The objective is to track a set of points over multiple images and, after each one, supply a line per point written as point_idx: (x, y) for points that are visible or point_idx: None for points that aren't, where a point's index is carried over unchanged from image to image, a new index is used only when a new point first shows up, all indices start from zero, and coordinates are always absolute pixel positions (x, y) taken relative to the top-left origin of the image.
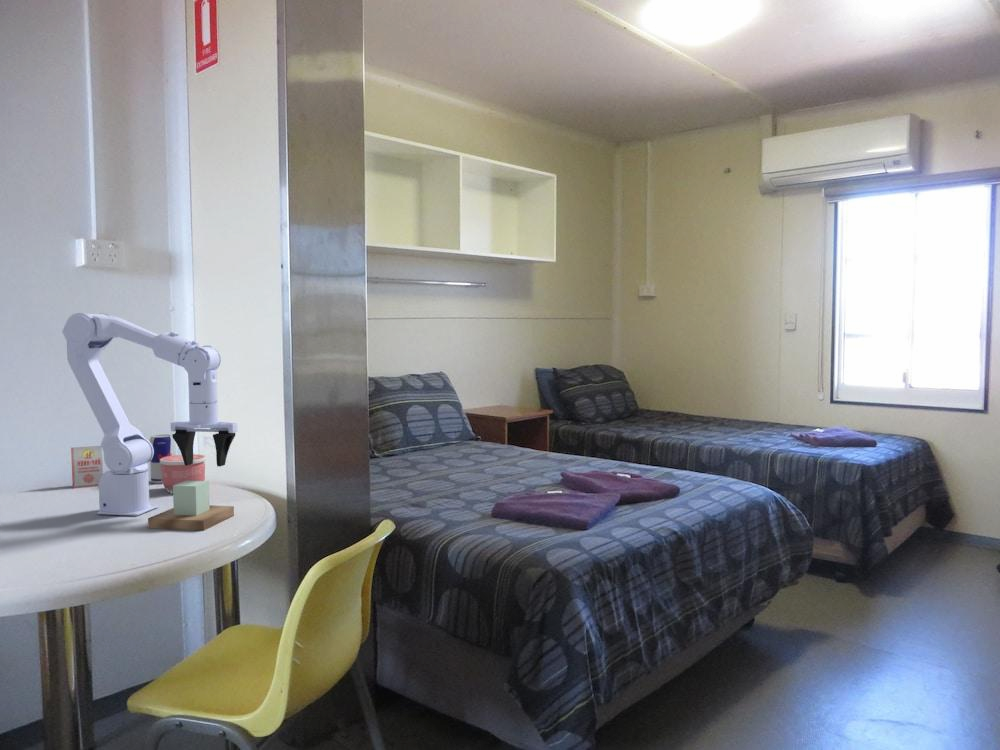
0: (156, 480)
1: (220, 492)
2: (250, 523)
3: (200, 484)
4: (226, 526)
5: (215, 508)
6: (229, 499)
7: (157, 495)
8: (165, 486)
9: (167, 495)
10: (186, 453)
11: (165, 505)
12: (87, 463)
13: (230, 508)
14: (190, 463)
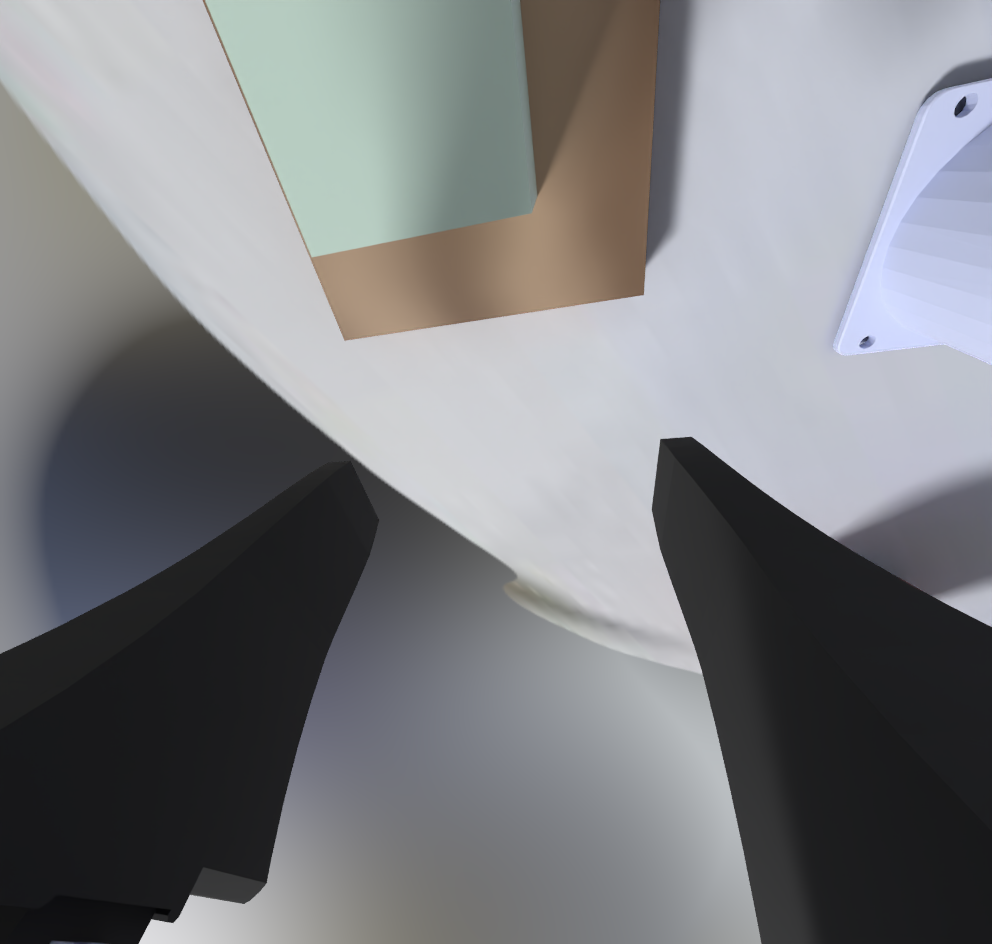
0: None
1: (658, 586)
2: (167, 214)
3: (228, 55)
4: (196, 93)
5: (386, 264)
6: (568, 525)
7: (913, 526)
8: (903, 580)
9: (862, 532)
10: (709, 531)
11: (807, 399)
12: None
13: (331, 304)
14: (657, 488)
